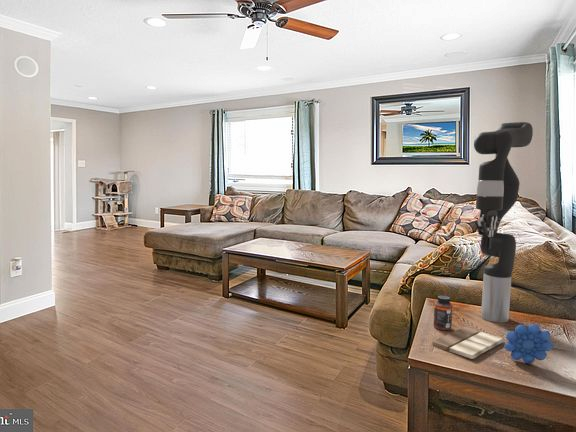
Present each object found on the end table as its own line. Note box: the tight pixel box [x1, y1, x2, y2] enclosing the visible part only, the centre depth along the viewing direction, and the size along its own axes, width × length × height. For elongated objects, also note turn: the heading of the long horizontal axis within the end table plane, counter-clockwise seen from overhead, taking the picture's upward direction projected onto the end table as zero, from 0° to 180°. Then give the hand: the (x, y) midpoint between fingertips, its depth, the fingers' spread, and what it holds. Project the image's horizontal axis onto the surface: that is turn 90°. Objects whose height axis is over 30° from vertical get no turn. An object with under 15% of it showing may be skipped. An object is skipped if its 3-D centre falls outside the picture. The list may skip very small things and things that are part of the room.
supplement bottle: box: [433, 295, 454, 331], centre depth 129 cm, size 6×6×11 cm
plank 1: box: [449, 340, 489, 360], centre depth 112 cm, size 10×7×1 cm
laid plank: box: [432, 326, 480, 352], centre depth 120 cm, size 21×5×1 cm, turn 127°
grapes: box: [503, 323, 554, 365], centre depth 105 cm, size 12×7×12 cm, turn 60°
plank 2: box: [467, 331, 504, 351], centre depth 118 cm, size 10×7×1 cm
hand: (486, 248), depth 117 cm, fingers closed
